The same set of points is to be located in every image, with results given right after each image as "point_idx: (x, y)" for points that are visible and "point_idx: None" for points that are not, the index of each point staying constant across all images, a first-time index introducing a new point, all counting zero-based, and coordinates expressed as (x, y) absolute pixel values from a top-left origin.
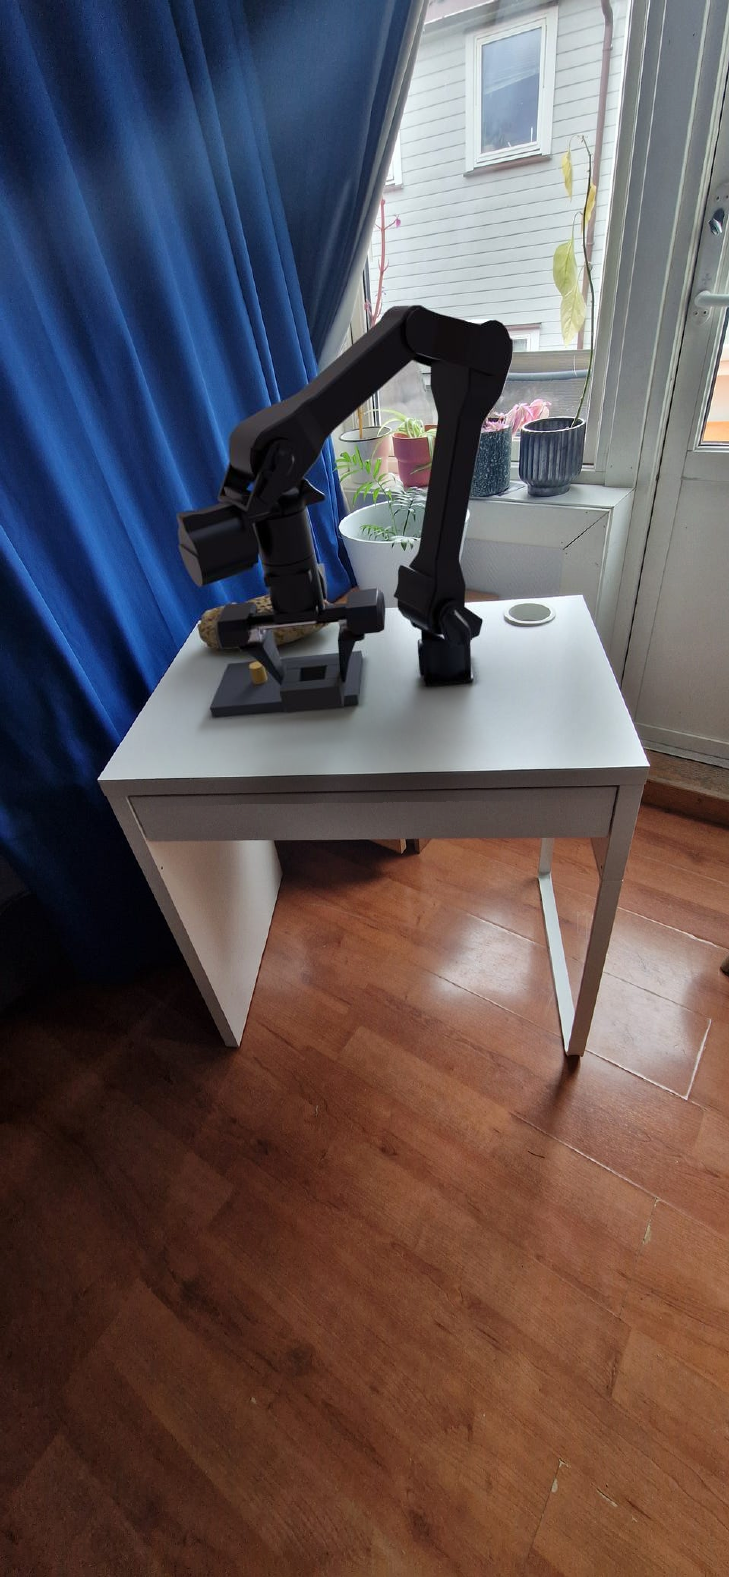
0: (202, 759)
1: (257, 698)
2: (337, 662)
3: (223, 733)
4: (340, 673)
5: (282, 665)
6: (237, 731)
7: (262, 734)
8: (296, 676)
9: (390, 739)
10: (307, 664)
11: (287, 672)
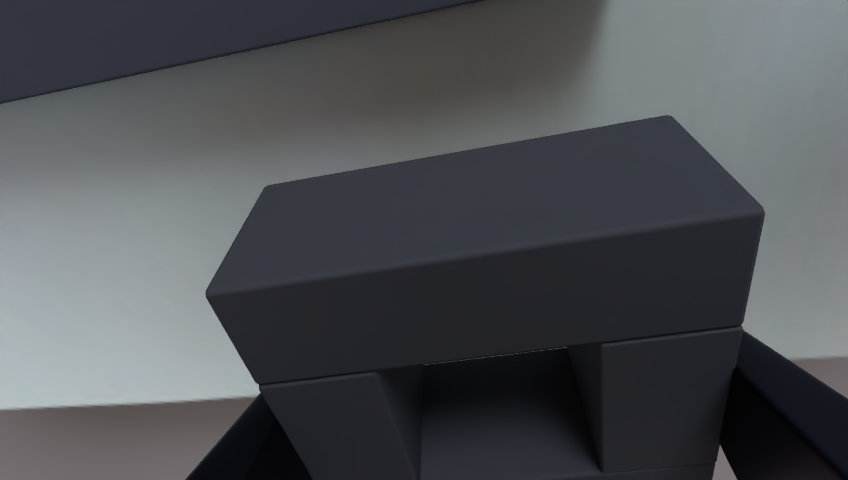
0: (92, 351)
1: (6, 38)
2: (701, 312)
3: (40, 227)
4: (730, 459)
5: (249, 469)
6: (89, 213)
7: (213, 226)
8: (389, 450)
9: (765, 232)
10: (416, 331)
11: (296, 418)
